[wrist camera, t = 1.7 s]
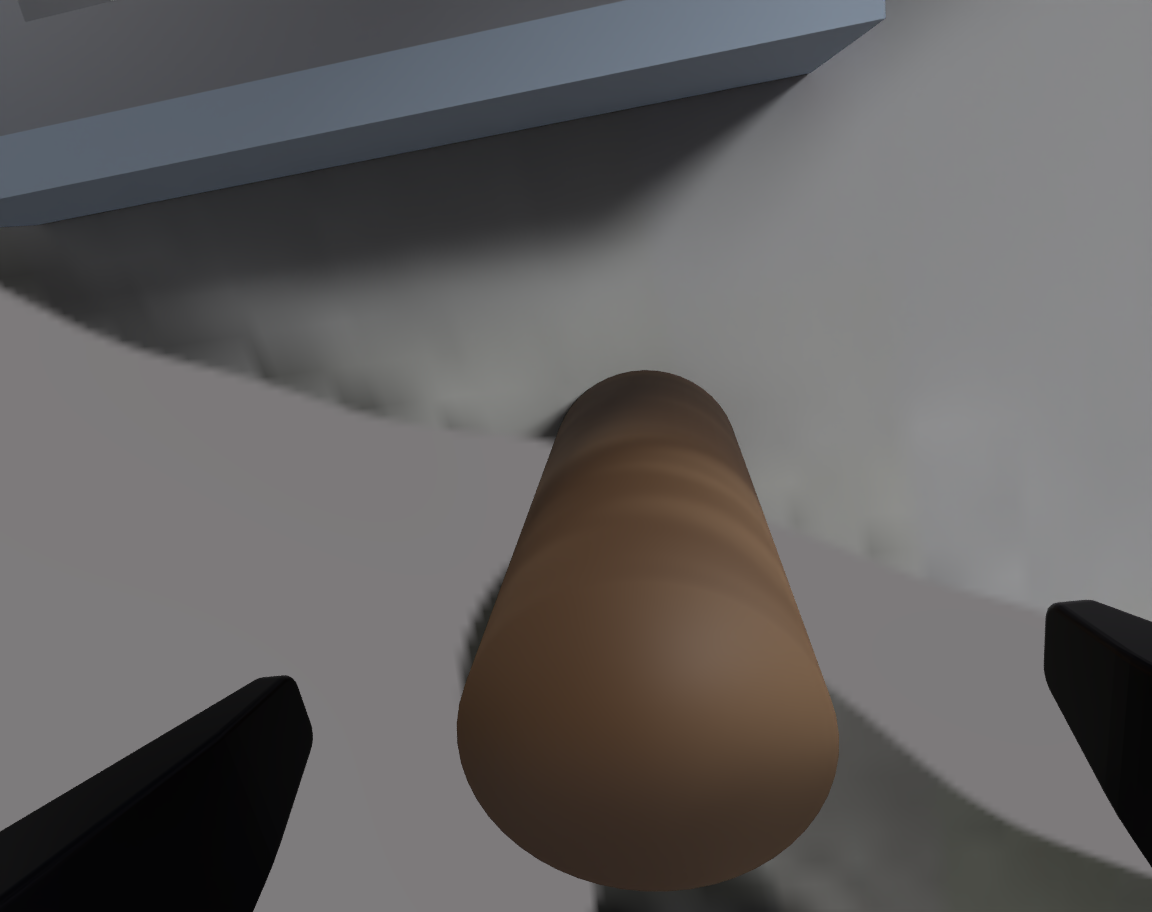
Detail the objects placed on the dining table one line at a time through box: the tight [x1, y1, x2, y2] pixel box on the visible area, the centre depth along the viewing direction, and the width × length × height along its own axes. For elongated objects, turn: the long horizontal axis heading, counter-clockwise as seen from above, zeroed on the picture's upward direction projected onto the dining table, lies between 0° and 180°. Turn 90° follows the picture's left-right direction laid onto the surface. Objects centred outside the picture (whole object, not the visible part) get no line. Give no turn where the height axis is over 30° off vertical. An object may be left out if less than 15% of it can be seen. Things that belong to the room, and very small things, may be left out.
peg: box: [457, 370, 839, 891], centre depth 12 cm, size 4×4×9 cm
